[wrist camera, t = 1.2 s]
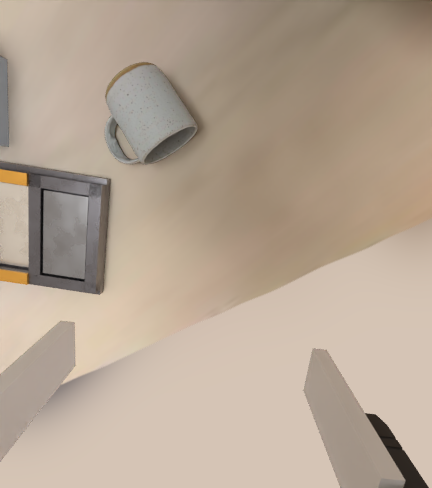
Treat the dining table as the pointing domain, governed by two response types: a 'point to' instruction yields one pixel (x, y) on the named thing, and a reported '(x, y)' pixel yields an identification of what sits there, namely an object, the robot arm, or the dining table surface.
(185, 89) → the dining table surface
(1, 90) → the blue-grey rectangular block
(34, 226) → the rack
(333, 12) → the dining table surface
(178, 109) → the ceramic mug
